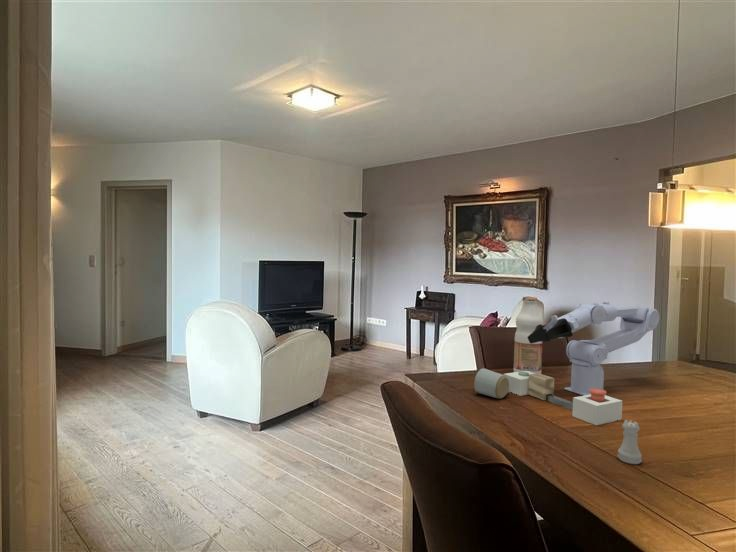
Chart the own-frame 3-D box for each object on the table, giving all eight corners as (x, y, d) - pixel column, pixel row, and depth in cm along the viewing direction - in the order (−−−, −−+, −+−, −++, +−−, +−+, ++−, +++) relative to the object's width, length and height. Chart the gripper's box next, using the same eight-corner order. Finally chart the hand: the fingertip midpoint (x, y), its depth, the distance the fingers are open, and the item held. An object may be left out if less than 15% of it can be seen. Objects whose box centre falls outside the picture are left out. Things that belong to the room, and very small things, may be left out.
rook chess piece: (612, 455, 93) (613, 418, 93) (632, 455, 93) (633, 418, 93) (626, 465, 89) (628, 426, 88) (647, 464, 89) (648, 426, 89)
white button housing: (597, 410, 121) (597, 393, 120) (621, 419, 114) (622, 400, 114) (572, 416, 116) (573, 397, 116) (596, 425, 110) (597, 405, 110)
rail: (534, 393, 135) (534, 388, 135) (586, 412, 119) (586, 407, 119) (530, 394, 134) (530, 389, 134) (581, 413, 118) (581, 408, 118)
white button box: (526, 385, 143) (526, 368, 143) (543, 391, 137) (543, 374, 137) (503, 389, 139) (503, 371, 139) (519, 395, 133) (520, 377, 132)
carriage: (537, 392, 135) (538, 373, 135) (553, 398, 130) (554, 378, 130) (528, 394, 134) (528, 374, 133) (544, 400, 128) (544, 379, 128)
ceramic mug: (497, 402, 126) (498, 375, 126) (472, 395, 133) (474, 369, 132) (515, 395, 134) (516, 370, 133) (492, 389, 140) (493, 365, 139)
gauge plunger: (595, 402, 118) (596, 387, 118) (609, 406, 114) (610, 391, 114) (585, 404, 116) (586, 389, 116) (599, 408, 112) (599, 393, 112)
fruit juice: (507, 372, 160) (510, 296, 158) (527, 370, 163) (530, 295, 162) (526, 379, 151) (529, 298, 150) (547, 376, 155) (550, 298, 154)
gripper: (547, 315, 141) (516, 329, 136) (582, 306, 128) (549, 320, 122) (557, 336, 140) (526, 351, 135) (592, 328, 127) (560, 344, 121)
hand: (537, 338), depth 128 cm, fingers open, 7 cm apart
